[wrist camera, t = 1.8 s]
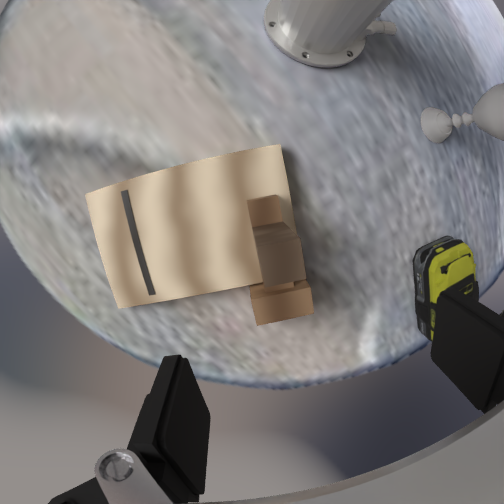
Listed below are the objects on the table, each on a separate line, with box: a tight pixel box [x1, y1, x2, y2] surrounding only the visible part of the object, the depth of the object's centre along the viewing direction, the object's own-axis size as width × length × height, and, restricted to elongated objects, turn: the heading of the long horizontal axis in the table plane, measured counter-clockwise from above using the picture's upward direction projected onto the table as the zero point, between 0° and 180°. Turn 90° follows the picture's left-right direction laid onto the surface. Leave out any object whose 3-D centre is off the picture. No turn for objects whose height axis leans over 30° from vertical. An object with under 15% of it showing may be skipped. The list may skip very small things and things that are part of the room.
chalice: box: [421, 83, 504, 143], centre depth 20 cm, size 7×7×18 cm
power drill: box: [413, 236, 504, 341], centre depth 23 cm, size 9×17×25 cm, turn 18°
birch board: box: [85, 144, 297, 308], centre depth 30 cm, size 22×14×2 cm, turn 101°
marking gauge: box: [246, 194, 314, 326], centre depth 26 cm, size 6×12×12 cm, turn 11°
